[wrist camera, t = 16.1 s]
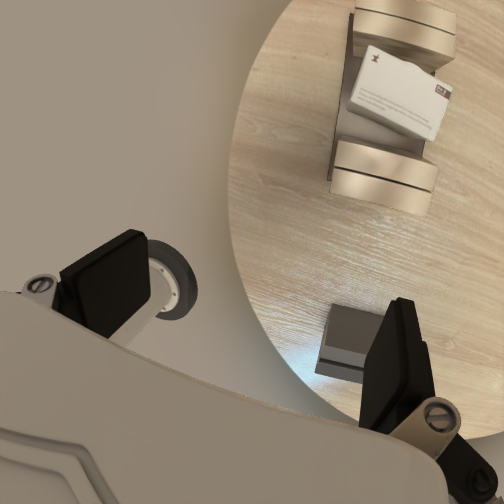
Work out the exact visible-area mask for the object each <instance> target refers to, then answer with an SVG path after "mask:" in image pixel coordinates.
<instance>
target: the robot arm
mask: <svg viewBox="0 0 504 504" xmlns="http://www.w3.org/2000/svg"><path fill="white" fill-rule="evenodd" d="M59 273H60V277H61V281H60V282H59V283H58V281H57V279H56V277H55V276H53V275H50V274H41V275H37V276H34V277H32V278H31V279H29V280H28V281H27V282H26V283H25V285H24V287H23V289H22V292H16V293H13V292H6V291H0V504H504V501H503V499H502V497H501V496H500V497H499V498H497V497H496V495H495V493H496V491H497V487H498V477H497V475H496V472H495V470H494V469H493V468H492V467H491V466H490V465H489V464H488V463H487V462H486V461H485V460H484V459H483V458H482V457H481V456H480V455H479V454H478V453H477V452H476V451H475V450H474V449H473V448H472V447H471V446H470V445H469V444H468V443H467V442H466V441H465V440H464V439H463V438H462V437H461V436H460V435H459V434H458V433H457V432H458V431H459V429H460V426H461V417H460V413H459V411H458V410H457V408H456V407H455V406H454V405H453V404H452V403H451V402H449V401H448V400H446V399H444V398H441V397H435V389H434V382H433V376H432V369H431V364H430V358H429V352H428V347H427V344H426V342H425V341H422V337H421V332H420V327H419V322H418V318H417V313H416V309H415V304H414V301H412V300H408V299H404V298H400V297H398V298H397V299H396V301H395V300H391V302H390V304H389V306H388V309H387V311H386V314H385V316H384V318H383V321H382V323H381V325H380V328H379V330H378V332H377V334H376V337H375V339H374V341H373V343H372V345H371V347H370V350H369V352H368V354H367V356H366V359H365V362H364V372H363V386H362V398H361V409H360V418H359V427H356V426H352V425H348V424H344V423H340V422H335V421H331V420H327V419H323V418H319V417H315V416H312V415H308V414H304V413H301V412H297V411H293V410H290V409H286V408H282V407H279V406H276V405H272V404H269V403H266V402H262V401H259V400H256V399H253V398H250V397H246V396H244V395H241V394H237V393H235V392H232V391H229V390H226V389H223V388H221V387H218V386H215V385H212V384H210V383H207V382H204V381H202V380H199V379H196V378H194V377H191V376H189V375H186V374H184V373H181V372H179V371H176V370H174V369H172V368H169V367H167V366H164V365H162V364H160V363H157V362H155V361H153V360H151V359H148V358H146V357H144V356H142V355H140V354H137V353H135V352H133V351H131V350H129V349H127V348H125V347H126V346H127V345H128V344H129V343H130V342H131V341H132V340H133V339H134V338H135V337H136V336H137V335H138V334H139V332H141V331H142V329H143V328H144V327H145V326H146V325H147V324H148V323H149V322H150V321H151V320H152V319H153V318H154V317H155V316H156V315H157V314H158V313H159V312H166V311H170V310H172V309H173V308H174V307H175V306H176V305H177V303H178V302H179V299H180V288H179V285H178V282H177V280H176V278H175V276H174V275H173V273H172V272H171V270H170V269H169V268H168V267H167V266H166V265H164V264H163V263H162V262H160V261H158V260H156V259H154V258H149V255H148V239H147V237H146V236H145V234H144V233H143V232H141V231H137V230H133V229H129V230H127V231H126V232H124V233H122V234H120V235H119V236H117V237H115V238H114V239H112V240H110V241H109V242H107V243H105V244H103V245H102V246H100V247H99V248H97V249H95V250H94V251H92V252H90V253H89V254H87V255H85V256H84V257H82V258H81V259H79V260H78V261H76V262H74V263H73V264H71V265H70V266H68V267H67V268H65V269H63V270H62V271H60V272H59Z"/></svg>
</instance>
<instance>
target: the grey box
mask: <svg viewBox="0 0 504 504" xmlns="http://www.w3.org/2000/svg"><path fill="white" fill-rule="evenodd" d="M383 318H384V316H381V315H377V314H373V313H369V312H365V311H360V310H356V309H352V308H348V307H344V306H340V305H336V304H332V306H331V309H330V312H329V315H328V318H327V321H326V324H325V327H324V332H323V337H322V342H321V346H320V351H319V355H318V360H317V364H316V368H315V373H317V374H321V375H325V376H329V377H333V378H338V379H342V380H346V381H351V382H355V383H360V384H363V372H364V362H365V359H366V356H367V354H368V352H369V350H370V347H371V345H372V343H373V341H374V339H375V337H376V334H377V332H378V330H379V328H380V325H381V323H382V321H383Z"/></svg>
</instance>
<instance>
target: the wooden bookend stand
mask: <svg viewBox="0 0 504 504" xmlns="http://www.w3.org/2000/svg"><path fill="white" fill-rule="evenodd" d="M456 25H457V15H456V14H455V13H452V12H449V11H447V10H444V9H441V8H438V7H435V6H432V5H429V4H426V3H423V2H420V1H416V0H355V11H354V14H352V13H350V16H349V27H348V37H347V46H346V55H345V64H344V72H343V80H342V88H341V95H340V102H339V109H338V116H337V122H336V129H335V135H334V141H333V147H332V153H331V159H330V165H329V171H328V176H327V180H328V181H331V184H330V190H329V193H332V194H337V195H341V196H345V197H349V198H353V199H358V200H362V201H366V202H369V203H373V204H377V205H381V206H385V207H389V208H392V209H396V210H400V211H403V212H407V213H410V214H414V215H417V216H421V217H424V218H426V216H427V213H428V209H429V206H430V202H431V198H432V193H431V192H430V191H432V192H433V191H434V187H435V183H436V179H437V175H438V170H439V167H438V166H437V165H435V164H433V163H431V162H430V161H428V160H426V159H424V158H422V154H423V149H424V144H425V140H423V139H416V138H410V137H404V136H400V135H399V134H397V133H395V132H394V131H392V130H390V129H388V128H386V127H384V126H383V125H381V124H379V123H376V122H374V121H372V120H370V119H368V118H366V117H363V116H361V115H358V114H356V113H353V112H350V111H348V110H346V108H347V105H348V102H349V99H350V96H351V93H352V90H353V87H354V84H355V82H356V79H357V76H358V73H359V71H360V68H361V65H362V62H363V60H364V57H365V54H366V51H367V48H368V46H369V45H372V46H374V47H376V48H378V49H380V50H382V51H384V52H386V53H388V54H390V55H392V56H395V57H397V58H399V59H401V60H403V61H407V62H410V63H413V64H415V65H417V66H418V67H419V68H421V69H422V70H423V71H425V72H426V73H428V74H430V75H432V76H435V70H437V69H438V68H440V67H442V66H443V65H445V64H447V63H449V62H450V61H452V60H454V59H455V56H456V36H455V35H456Z"/></svg>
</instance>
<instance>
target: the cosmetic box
mask: <svg viewBox="0 0 504 504" xmlns="http://www.w3.org/2000/svg"><path fill="white" fill-rule="evenodd" d="M452 91H453V87H452V86H450V85H448V84H446V83H445V82H443V81H441V80H439V79H437V78H435V77H434V76H432V75H430V74H428V73H426V72H425V71H423V70H422V69H421V68H419V67H418V66H417V65H415V64H413V63H410V62H407V61H403V60H401V59H399V58H397V57H395V56H392V55H390V54H388V53H386V52H384V51H382V50H380V49H378V48H376V47H374V46H372V45H369V46H368V48H367V51H366V54H365V57H364V60H363V62H362V65H361V68H360V71H359V73H358V76H357V79H356V82H355V84H354V87H353V90H352V93H351V96H350V99H349V102H348V105H347V108H346V110H348V111H350V112H353V113H356V114H358V115H361V116H363V117H366V118H368V119H370V120H372V121H374V122H376V123H379V124H381V125H383V126H384V127H386V128H388V129H390V130H392V131H394V132H395V133H397V134H399V135H400V136H404V137H410V138H416V139H423V140H427V141H431V142H434V140H435V137H436V135H437V132H438V130H439V127H440V124H441V121H442V119H443V116H444V113H445V111H446V108H447V105H448V102H449V100H450V97H451V94H452Z"/></svg>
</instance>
